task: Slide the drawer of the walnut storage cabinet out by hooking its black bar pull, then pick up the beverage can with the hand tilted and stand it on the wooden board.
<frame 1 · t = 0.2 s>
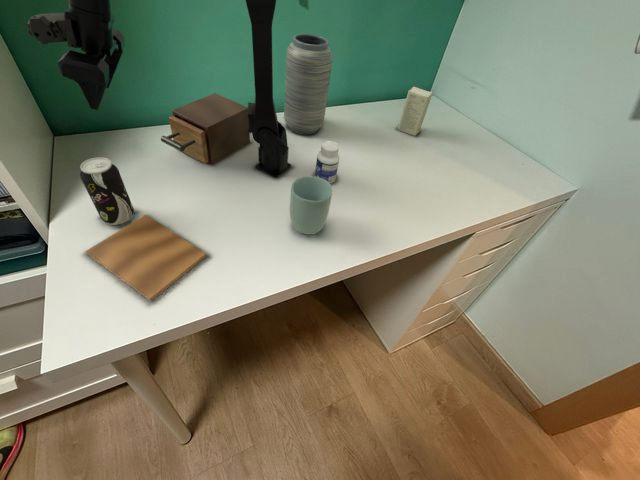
hand: (100, 97, 64), 15 cm above the table, tool pointing down, fingers open, 9 cm apart
pill bottle: (324, 178, 80), on the table
cosmetic box: (407, 131, 103), on the table
cabinet: (216, 145, 84), on the table
beverage can: (119, 217, 63), on the table
wooden board: (148, 255, 58), on the table
cup: (307, 227, 68), on the table
drawer: (200, 134, 78), point 5 cm above the table, slide at 0.5 cm
vase: (303, 127, 96), on the table
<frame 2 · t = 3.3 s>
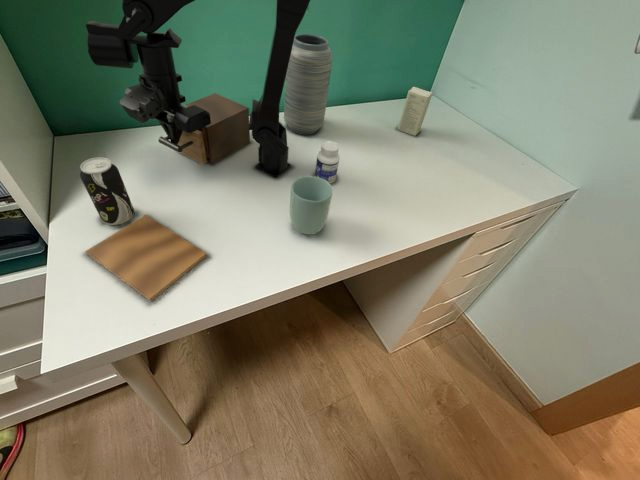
hand: (175, 143, 73), 5 cm above the table, tool pointing down, fingers closed, pressing on drawer
drawer: (198, 135, 78), point 5 cm above the table, slide at 1.1 cm, touching gripper
everything else where it was.
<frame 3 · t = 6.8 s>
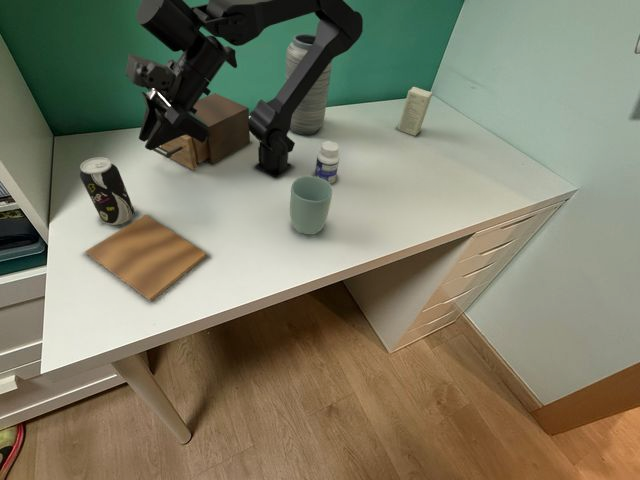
hand: (144, 144, 58), 14 cm above the table, tool tilted 45°, fingers open, 3 cm apart
drawer: (188, 140, 76), point 5 cm above the table, slide at 4.1 cm
everything else where it was.
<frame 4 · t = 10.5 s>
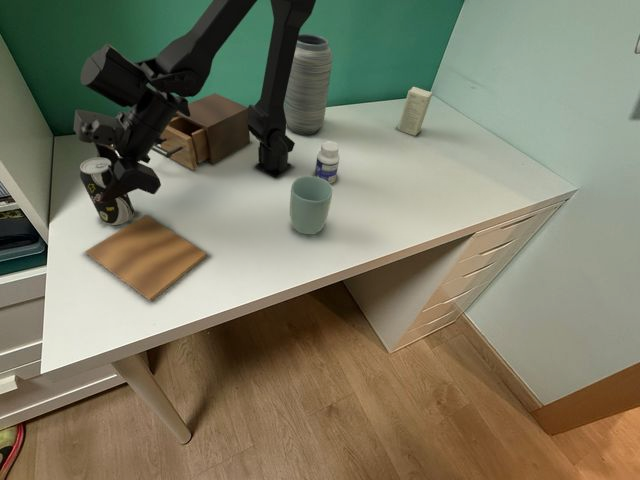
hand: (98, 192, 58), 7 cm above the table, tool tilted 45°, fingers closed on beverage can, 5 cm apart
beverage can: (119, 217, 63), on the table, touching gripper
everything else where it was.
when the fingers open (7 cm above the table, at t = 16.0 s): beverage can stays where it is, resting on wooden board.
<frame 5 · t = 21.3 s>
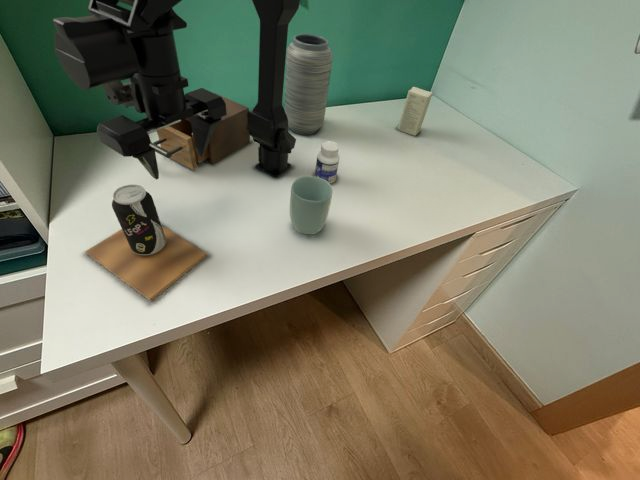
hand: (179, 166, 55), 13 cm above the table, tool pointing down, fingers open, 9 cm apart
beverage can: (149, 246, 59), point 1 cm above the table, touching wooden board
everything else where it was.
at the end: drawer slide at 4.1 cm; beverage can inside the target area on the wooden board (1.5 cm from its centre), point 0.6 cm above the wooden board's base; beverage can tilted 0° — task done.
